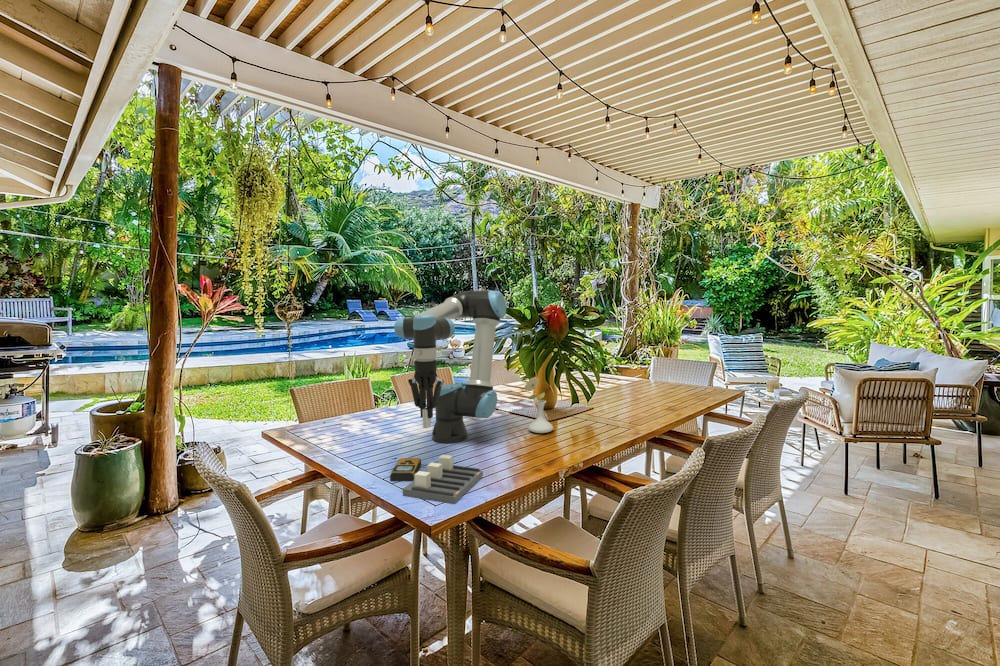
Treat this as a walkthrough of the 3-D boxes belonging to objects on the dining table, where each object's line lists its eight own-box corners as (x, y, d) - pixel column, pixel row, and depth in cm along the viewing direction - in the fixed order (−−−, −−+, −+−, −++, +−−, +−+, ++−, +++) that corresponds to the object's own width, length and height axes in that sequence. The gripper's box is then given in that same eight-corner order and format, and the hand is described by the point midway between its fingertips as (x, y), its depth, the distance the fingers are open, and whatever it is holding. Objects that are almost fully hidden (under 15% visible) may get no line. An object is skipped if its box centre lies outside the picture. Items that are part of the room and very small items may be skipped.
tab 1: (419, 484, 153) (419, 471, 152) (430, 486, 151) (430, 472, 151) (414, 488, 150) (414, 474, 149) (426, 490, 148) (425, 476, 148)
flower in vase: (547, 426, 222) (547, 373, 220) (557, 433, 212) (557, 377, 209) (520, 429, 218) (520, 375, 216) (530, 436, 207) (529, 379, 205)
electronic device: (422, 465, 177) (422, 456, 176) (413, 482, 161) (413, 472, 161) (399, 465, 177) (399, 456, 176) (389, 482, 161) (388, 472, 161)
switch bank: (436, 470, 170) (435, 462, 170) (482, 476, 164) (482, 468, 164) (402, 495, 150) (402, 486, 150) (454, 503, 144) (454, 494, 143)
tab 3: (442, 467, 168) (442, 454, 167) (453, 468, 166) (452, 455, 166) (438, 470, 165) (438, 457, 164) (449, 471, 163) (449, 458, 163)
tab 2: (431, 475, 160) (431, 462, 160) (442, 477, 159) (442, 463, 158) (427, 478, 157) (427, 465, 157) (438, 480, 156) (437, 467, 155)
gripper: (402, 360, 163) (404, 428, 165) (437, 362, 159) (439, 431, 161) (414, 357, 170) (415, 422, 172) (447, 359, 166) (449, 425, 168)
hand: (427, 427), depth 167 cm, fingers closed
